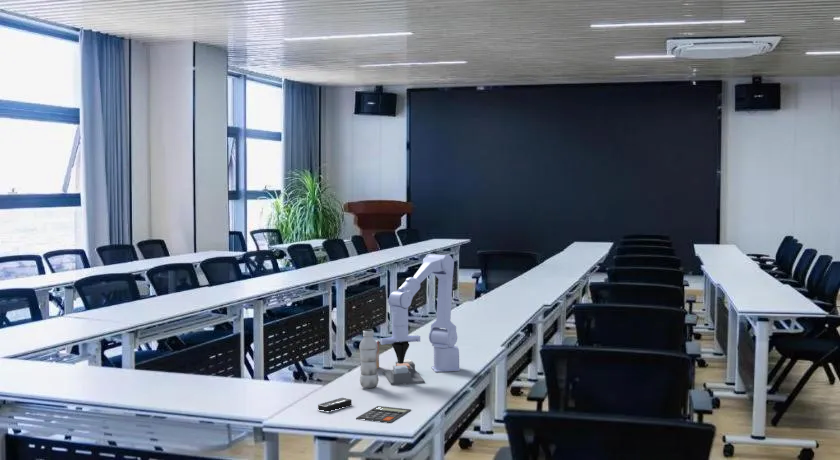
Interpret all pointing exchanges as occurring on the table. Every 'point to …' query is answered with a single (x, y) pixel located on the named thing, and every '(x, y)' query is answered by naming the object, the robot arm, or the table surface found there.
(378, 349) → the small box
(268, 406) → the table surface
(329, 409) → the multiport hub
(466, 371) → the table surface
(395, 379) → the panel
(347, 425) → the table surface
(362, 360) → the plastic bottle
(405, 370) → the slate key
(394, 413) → the calculator
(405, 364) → the terracotta key
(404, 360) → the ivory key
